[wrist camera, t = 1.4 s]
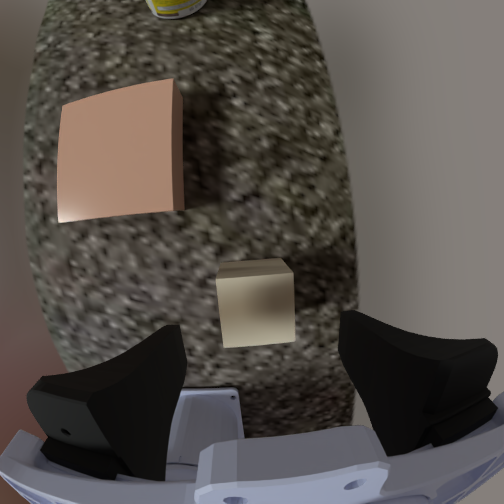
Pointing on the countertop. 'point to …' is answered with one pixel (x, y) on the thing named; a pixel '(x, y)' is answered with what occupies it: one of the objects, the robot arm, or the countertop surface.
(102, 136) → the terracotta box
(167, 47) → the countertop surface
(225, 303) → the metal block
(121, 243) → the countertop surface
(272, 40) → the countertop surface
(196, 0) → the supplement bottle
